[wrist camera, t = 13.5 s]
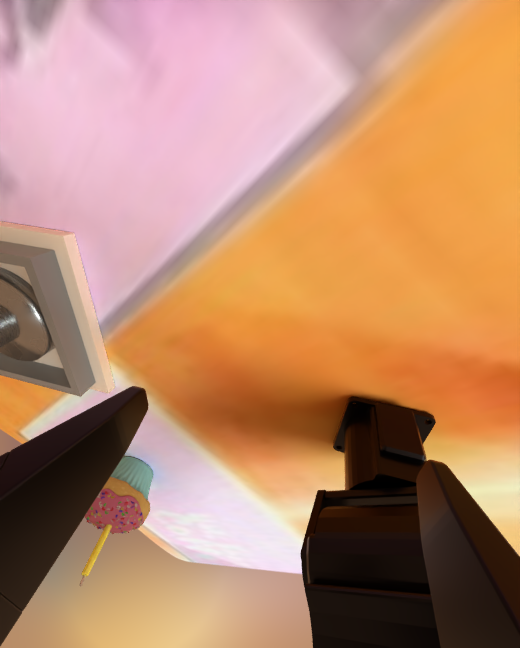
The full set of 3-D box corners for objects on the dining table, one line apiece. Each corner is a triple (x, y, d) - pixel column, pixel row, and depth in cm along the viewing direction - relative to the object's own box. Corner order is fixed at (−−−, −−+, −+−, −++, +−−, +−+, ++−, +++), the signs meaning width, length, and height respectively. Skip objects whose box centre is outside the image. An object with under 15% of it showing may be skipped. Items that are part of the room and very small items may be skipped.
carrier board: (115, 386, 30) (94, 408, 27) (-8, 355, 32) (-38, 372, 30) (73, 232, 21) (38, 243, 19) (-89, 207, 24) (-139, 213, 21)
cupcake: (151, 449, 34) (74, 570, 24) (175, 490, 38) (117, 609, 28) (97, 445, 37) (8, 551, 27) (125, 484, 41) (56, 590, 31)
